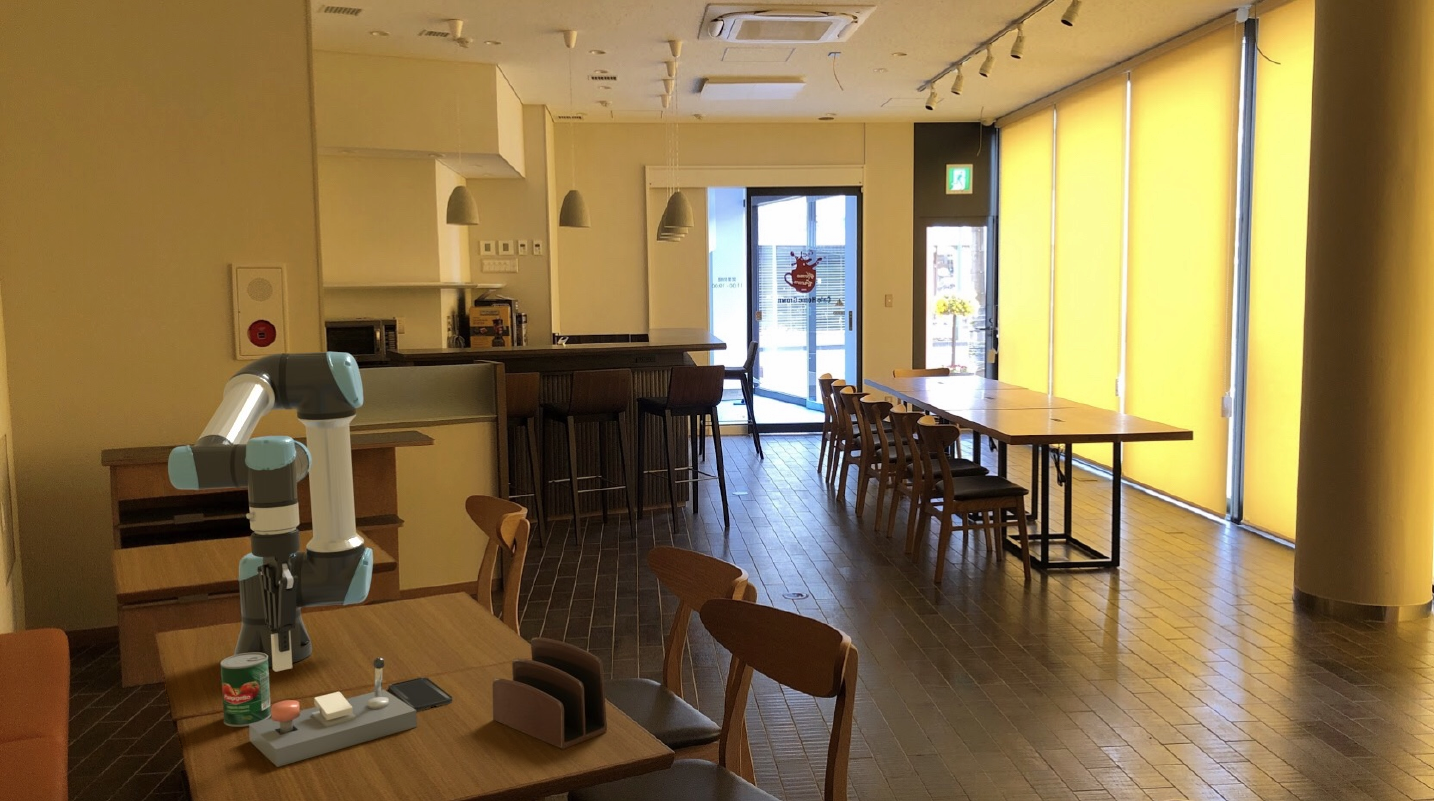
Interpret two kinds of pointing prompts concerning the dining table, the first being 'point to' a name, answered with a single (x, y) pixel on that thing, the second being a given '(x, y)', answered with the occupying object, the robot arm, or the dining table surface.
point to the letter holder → (553, 694)
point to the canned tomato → (245, 689)
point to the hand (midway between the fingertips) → (282, 668)
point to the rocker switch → (333, 705)
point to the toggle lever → (378, 675)
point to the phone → (420, 693)
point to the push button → (285, 714)
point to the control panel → (332, 728)
